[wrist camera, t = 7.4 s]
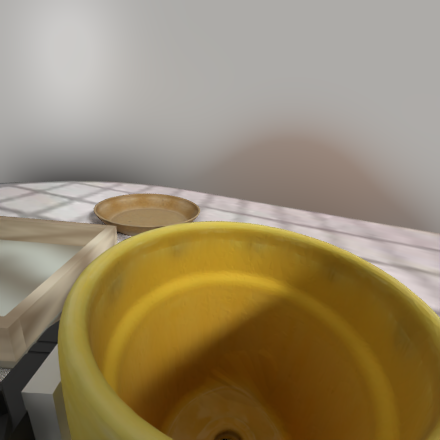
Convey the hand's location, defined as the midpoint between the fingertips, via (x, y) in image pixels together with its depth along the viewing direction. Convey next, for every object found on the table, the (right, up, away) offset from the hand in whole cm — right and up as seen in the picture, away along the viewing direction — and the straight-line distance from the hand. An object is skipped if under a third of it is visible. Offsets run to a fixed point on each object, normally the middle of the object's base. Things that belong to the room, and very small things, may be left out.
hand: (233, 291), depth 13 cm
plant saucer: (-11, +3, +24) cm, 27 cm away
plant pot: (-1, -7, -2) cm, 8 cm away
